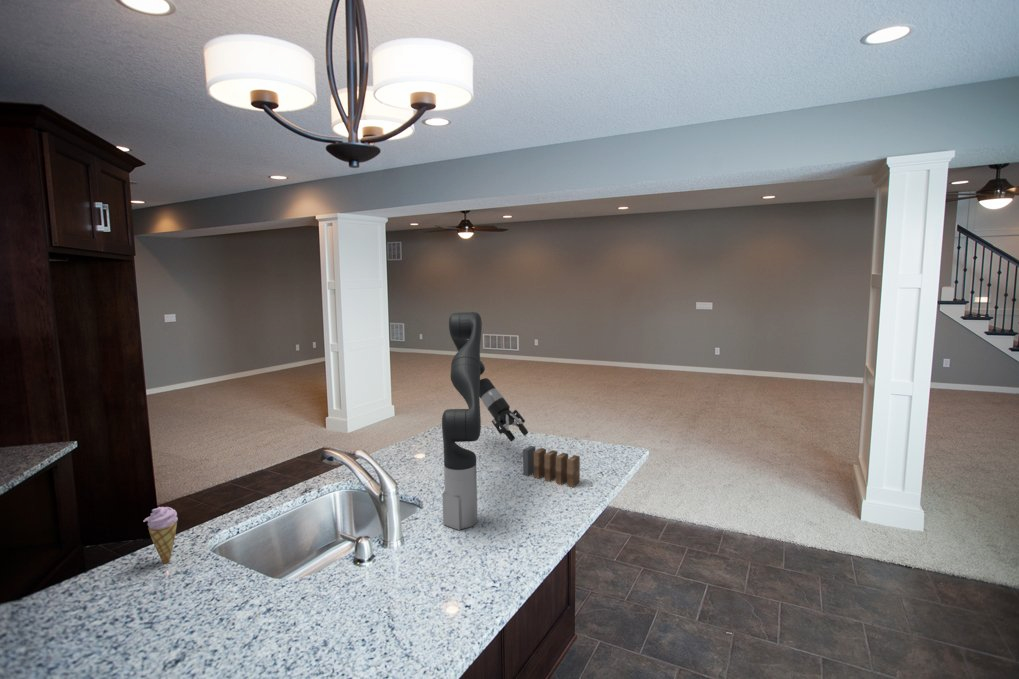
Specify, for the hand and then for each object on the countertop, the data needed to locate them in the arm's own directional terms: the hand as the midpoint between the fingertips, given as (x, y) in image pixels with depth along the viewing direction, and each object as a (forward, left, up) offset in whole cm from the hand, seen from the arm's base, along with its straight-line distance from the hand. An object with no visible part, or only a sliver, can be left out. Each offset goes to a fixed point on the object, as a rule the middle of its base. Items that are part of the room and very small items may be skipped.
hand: (520, 437), depth 191 cm
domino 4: (-5, -21, -11) cm, 24 cm away
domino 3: (-5, -16, -11) cm, 20 cm away
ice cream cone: (-106, +35, -11) cm, 112 cm away
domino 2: (-5, -12, -11) cm, 17 cm away
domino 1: (-5, -7, -11) cm, 14 cm away
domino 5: (-5, -25, -11) cm, 28 cm away
